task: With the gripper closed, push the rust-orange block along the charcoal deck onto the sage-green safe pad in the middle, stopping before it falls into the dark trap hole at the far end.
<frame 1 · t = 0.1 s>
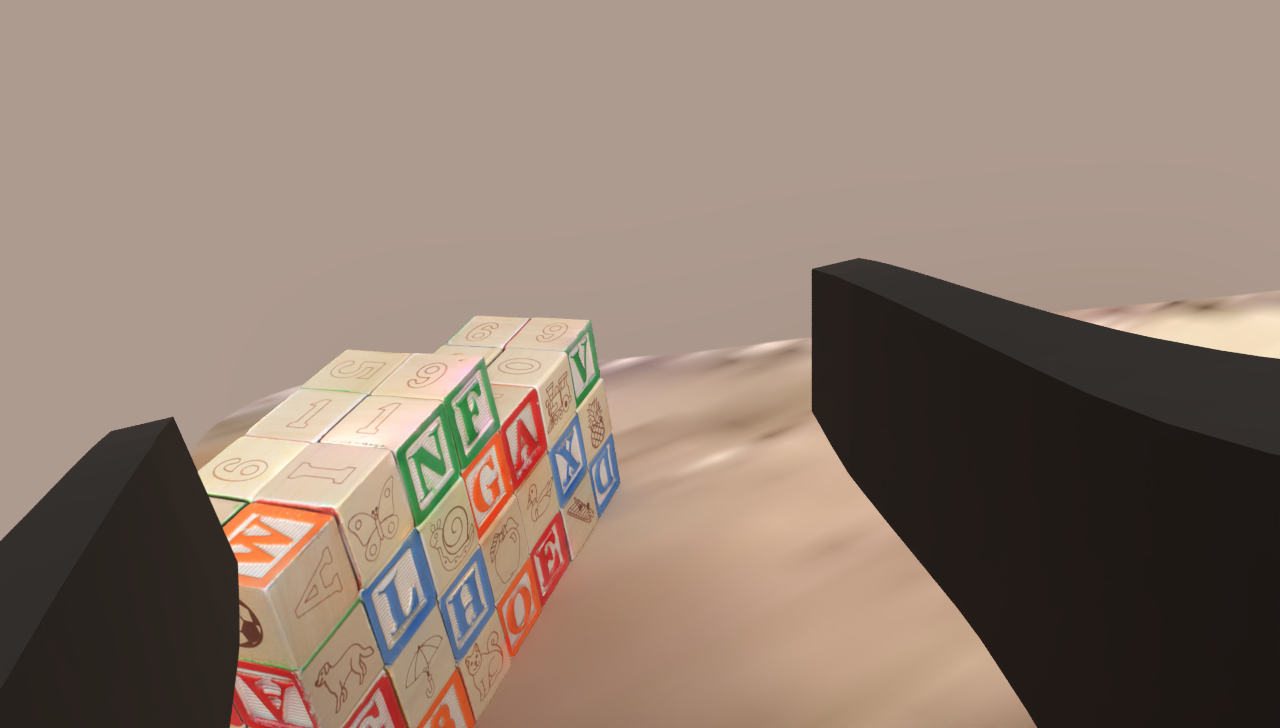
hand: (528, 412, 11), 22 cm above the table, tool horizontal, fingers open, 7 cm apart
stack of blocks: (464, 629, 39), on the table
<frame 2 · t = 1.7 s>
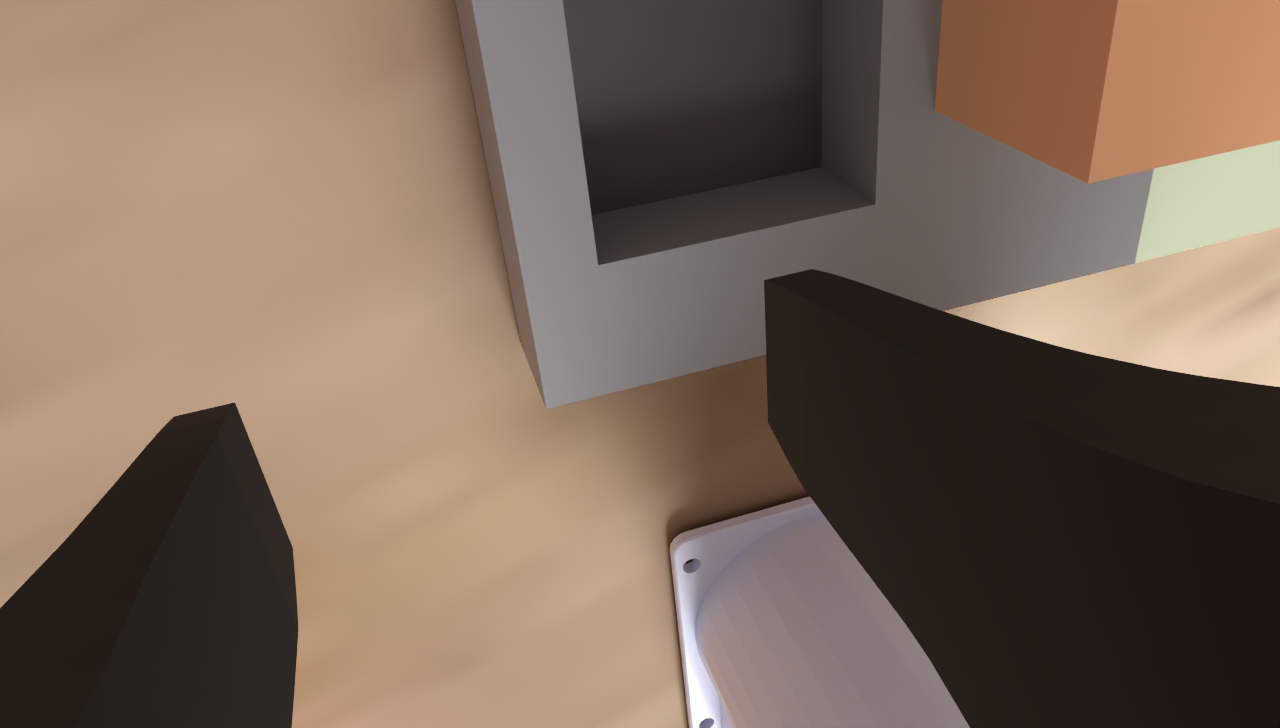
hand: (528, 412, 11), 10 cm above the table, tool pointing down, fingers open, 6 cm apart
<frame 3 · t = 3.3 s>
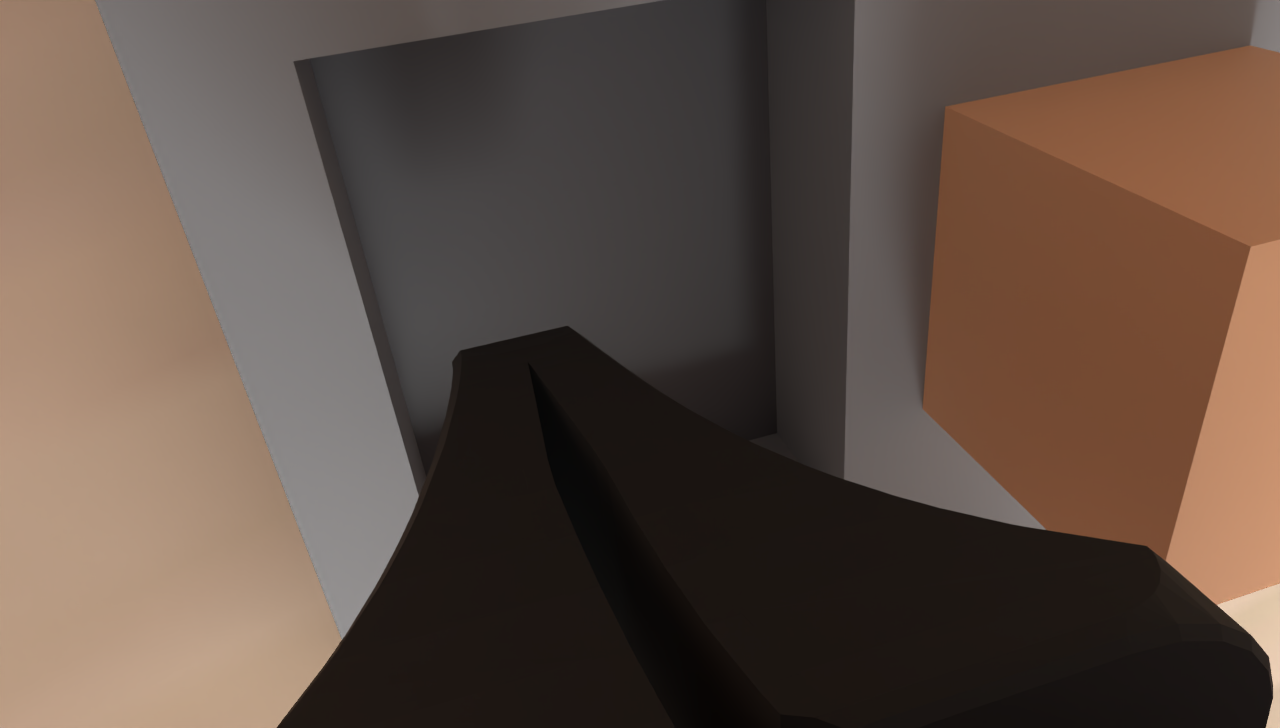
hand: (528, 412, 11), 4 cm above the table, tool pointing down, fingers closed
trap deck: (1195, 118, 16), on the table
block: (1076, 237, 13), point 3 cm above the table, touching trap deck
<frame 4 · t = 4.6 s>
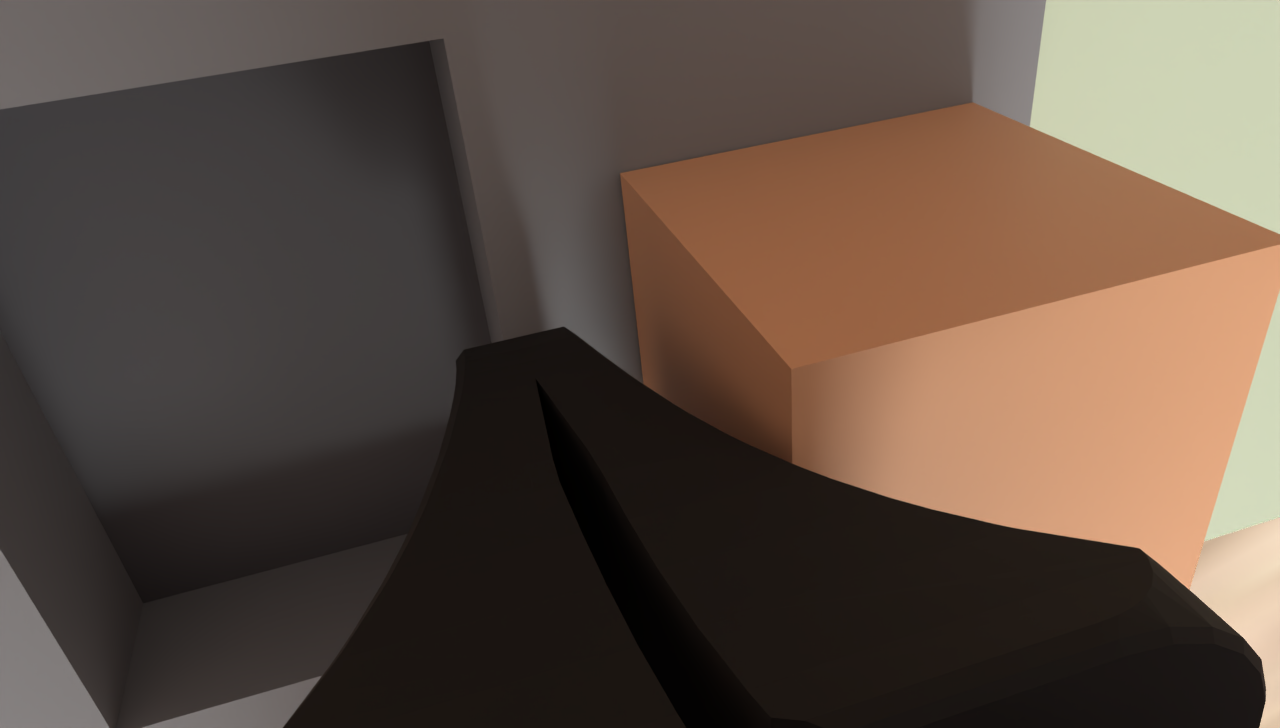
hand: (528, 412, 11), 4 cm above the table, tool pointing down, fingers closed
trap deck: (967, 171, 15), on the table
block: (804, 304, 12), point 3 cm above the table, touching gripper
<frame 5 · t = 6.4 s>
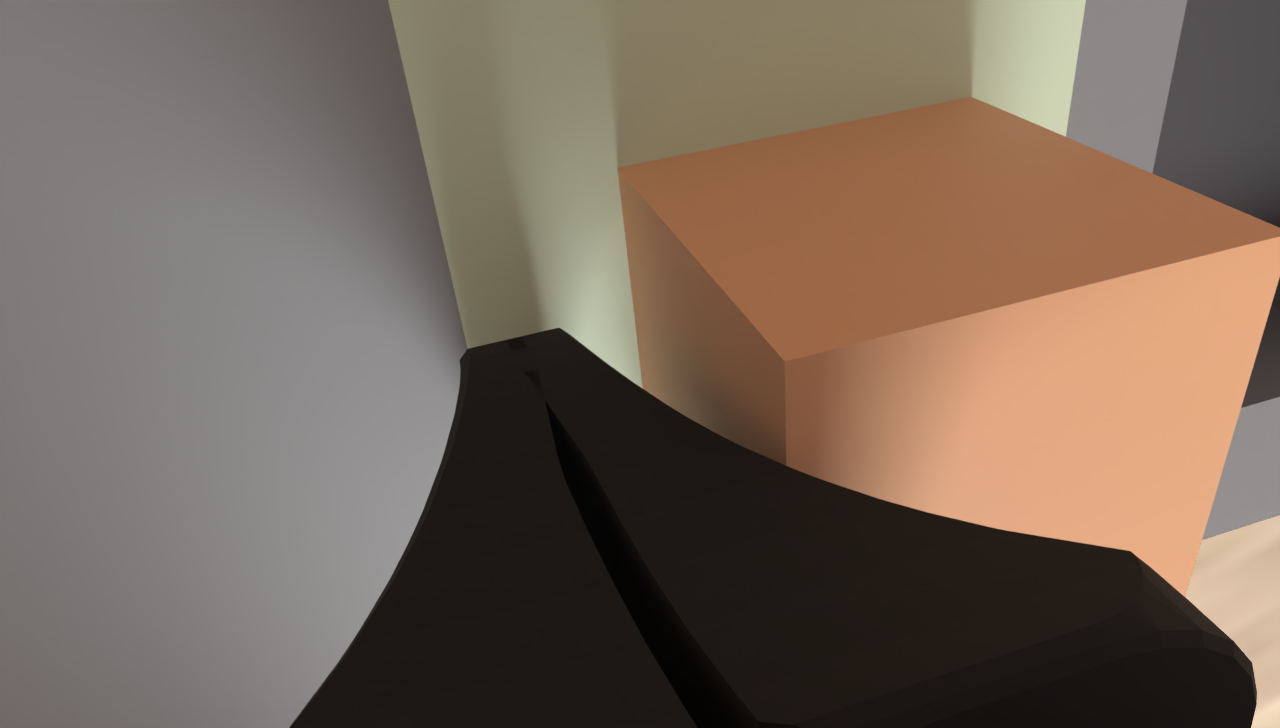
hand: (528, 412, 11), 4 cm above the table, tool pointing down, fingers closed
trap deck: (529, 263, 14), on the table
block: (802, 300, 12), point 3 cm above the table, touching gripper, trap deck
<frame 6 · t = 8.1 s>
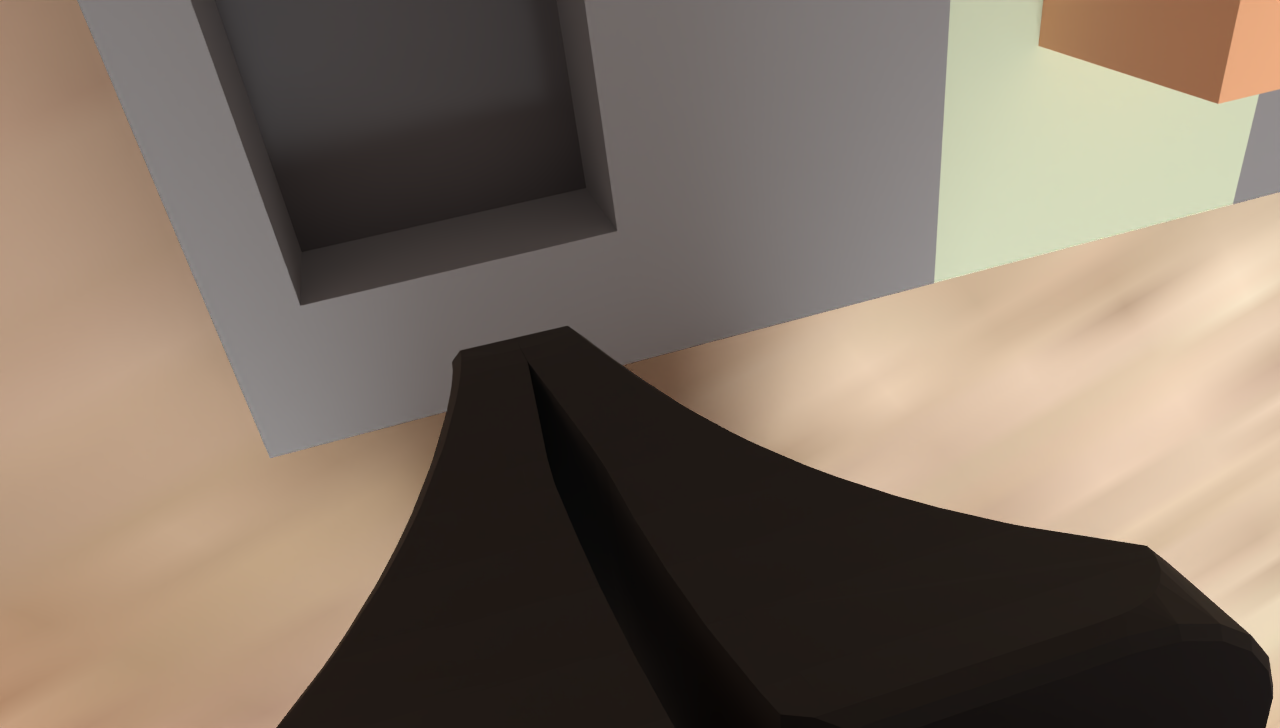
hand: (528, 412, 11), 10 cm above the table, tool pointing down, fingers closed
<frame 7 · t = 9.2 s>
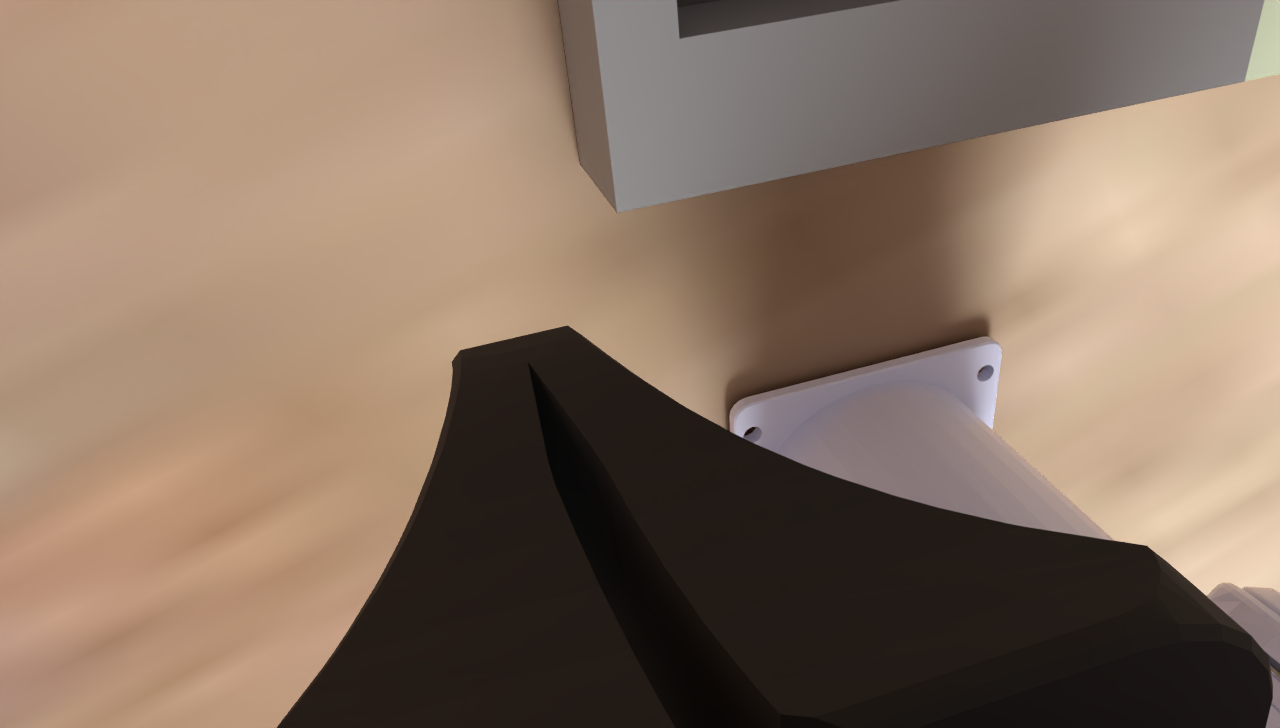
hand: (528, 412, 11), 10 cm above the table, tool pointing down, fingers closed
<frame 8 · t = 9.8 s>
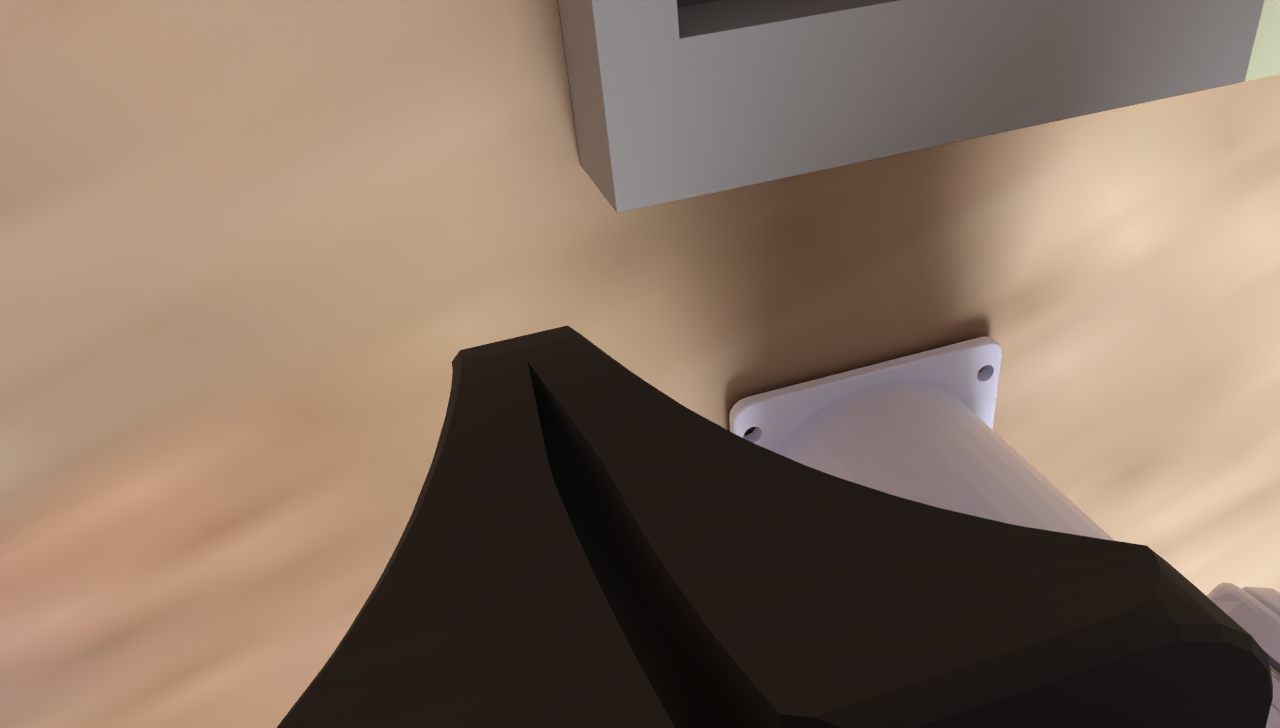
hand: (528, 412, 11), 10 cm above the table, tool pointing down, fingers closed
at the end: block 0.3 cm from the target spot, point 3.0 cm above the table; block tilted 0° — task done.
